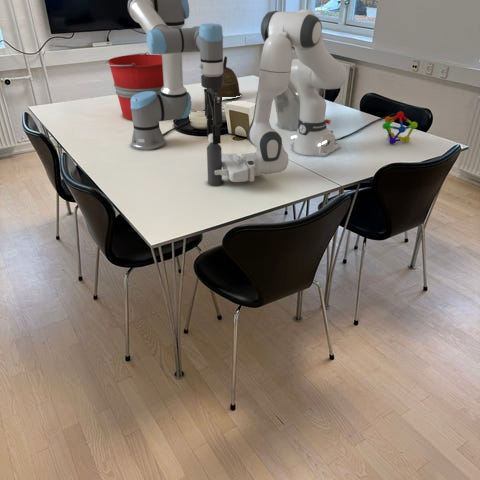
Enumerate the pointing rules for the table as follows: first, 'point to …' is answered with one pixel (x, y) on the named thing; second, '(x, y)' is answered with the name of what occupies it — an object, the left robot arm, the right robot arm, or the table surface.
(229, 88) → the bell
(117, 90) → the bucket
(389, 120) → the educational toy
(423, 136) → the table surface
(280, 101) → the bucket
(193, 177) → the table surface
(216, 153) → the bottle
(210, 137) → the cap
